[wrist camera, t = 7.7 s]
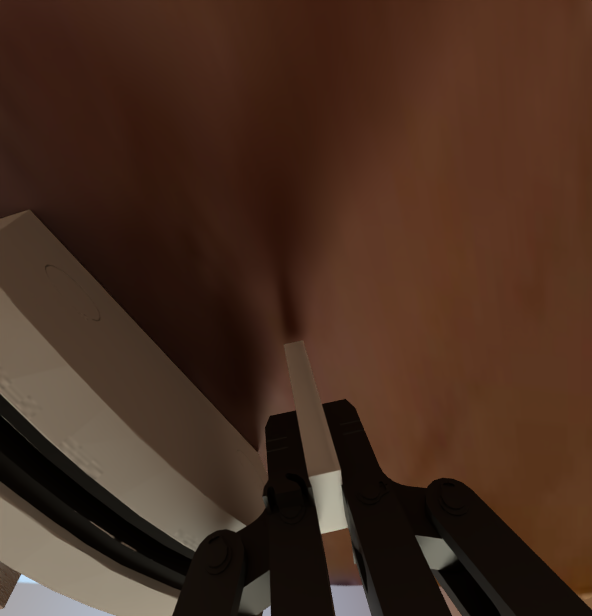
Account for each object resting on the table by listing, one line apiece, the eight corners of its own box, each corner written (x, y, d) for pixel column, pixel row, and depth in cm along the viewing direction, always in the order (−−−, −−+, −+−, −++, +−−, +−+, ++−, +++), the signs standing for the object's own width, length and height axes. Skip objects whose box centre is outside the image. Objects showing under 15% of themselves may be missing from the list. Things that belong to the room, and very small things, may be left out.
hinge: (-83, 271, 12) (-638, 430, 3) (35, 203, 13) (-168, 196, 4) (190, 492, 20) (231, 714, 11) (253, 440, 21) (335, 607, 12)
